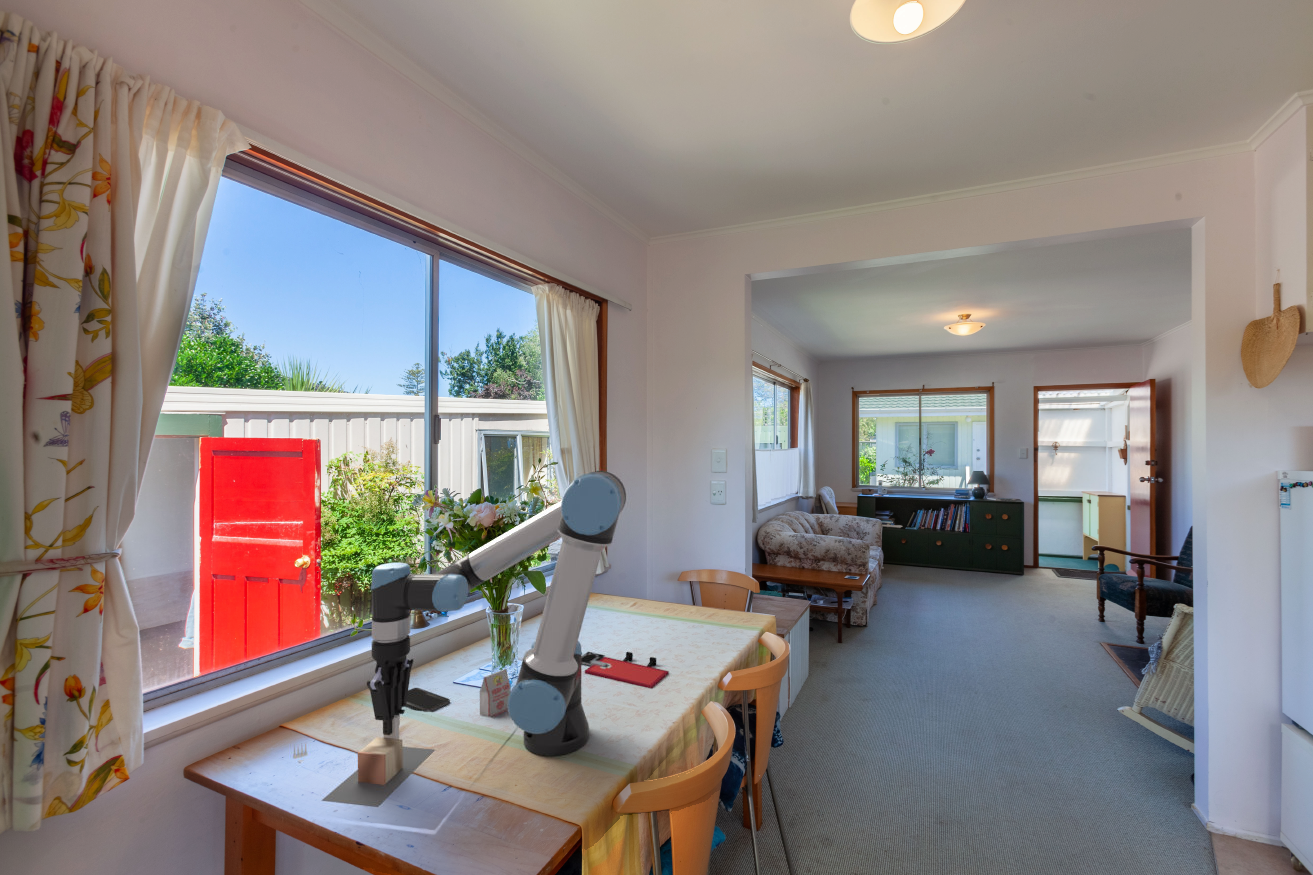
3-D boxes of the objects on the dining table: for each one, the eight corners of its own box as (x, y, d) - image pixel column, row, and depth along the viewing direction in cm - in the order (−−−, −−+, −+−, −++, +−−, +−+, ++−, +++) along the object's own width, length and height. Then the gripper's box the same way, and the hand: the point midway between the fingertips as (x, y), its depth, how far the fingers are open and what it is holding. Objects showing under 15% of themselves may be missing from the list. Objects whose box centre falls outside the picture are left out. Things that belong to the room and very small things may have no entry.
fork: (296, 790, 115) (296, 780, 115) (292, 753, 128) (292, 744, 128) (311, 785, 117) (311, 776, 117) (306, 750, 130) (306, 741, 130)
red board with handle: (591, 652, 188) (564, 669, 174) (591, 643, 187) (564, 660, 174) (674, 670, 174) (651, 691, 161) (674, 661, 174) (651, 681, 160)
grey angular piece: (479, 714, 146) (479, 675, 146) (501, 704, 151) (501, 666, 151) (488, 718, 143) (488, 679, 143) (510, 708, 149) (510, 670, 149)
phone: (426, 711, 145) (390, 697, 153) (426, 716, 145) (390, 701, 153) (452, 699, 152) (416, 686, 160) (452, 703, 152) (416, 690, 160)
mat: (435, 752, 128) (435, 749, 128) (377, 809, 109) (377, 806, 109) (386, 747, 130) (386, 744, 130) (321, 803, 110) (321, 799, 110)
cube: (402, 739, 121) (384, 755, 115) (402, 767, 121) (384, 784, 115) (377, 736, 122) (357, 752, 116) (377, 764, 122) (357, 781, 116)
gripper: (393, 625, 129) (394, 729, 129) (354, 646, 116) (354, 761, 117) (424, 627, 128) (424, 732, 128) (388, 649, 115) (388, 765, 115)
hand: (391, 746), depth 122 cm, fingers closed
